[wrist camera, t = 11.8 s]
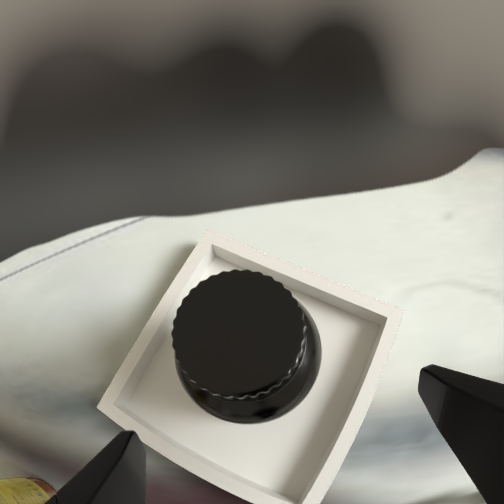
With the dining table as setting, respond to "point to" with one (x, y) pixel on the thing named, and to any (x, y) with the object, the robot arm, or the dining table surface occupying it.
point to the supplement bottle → (245, 347)
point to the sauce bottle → (24, 491)
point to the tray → (273, 432)
